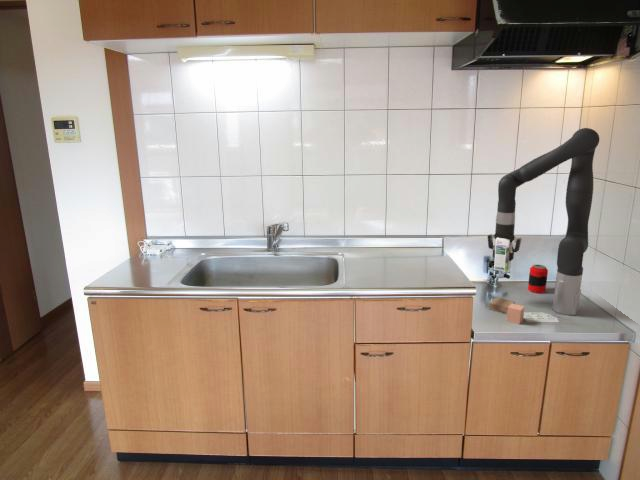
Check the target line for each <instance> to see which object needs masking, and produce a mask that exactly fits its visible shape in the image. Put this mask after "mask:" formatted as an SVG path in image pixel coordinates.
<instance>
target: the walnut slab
mask: <svg viewBox="0 0 640 480" xmlns="http://www.w3.org/2000/svg"><path fill="white" fill-rule="evenodd" d="M511 304H516V302H515V301H513V300H510V299H505V298H501V297H495V298H494V299H492V300H491V301H490V302H489V306H488V310H490V311H493V312H498V313H501V314H505V315H507V310H508V307H509V306H510V305H511Z"/></svg>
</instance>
